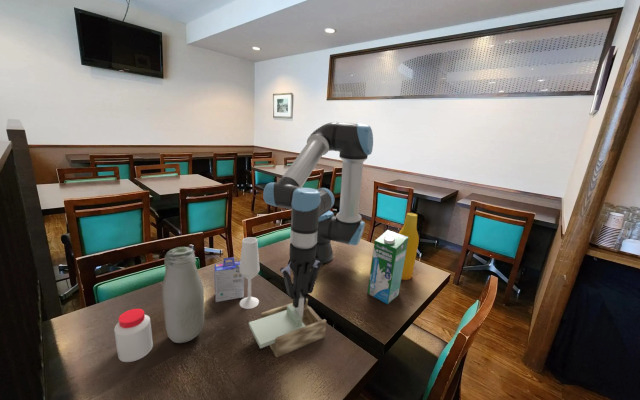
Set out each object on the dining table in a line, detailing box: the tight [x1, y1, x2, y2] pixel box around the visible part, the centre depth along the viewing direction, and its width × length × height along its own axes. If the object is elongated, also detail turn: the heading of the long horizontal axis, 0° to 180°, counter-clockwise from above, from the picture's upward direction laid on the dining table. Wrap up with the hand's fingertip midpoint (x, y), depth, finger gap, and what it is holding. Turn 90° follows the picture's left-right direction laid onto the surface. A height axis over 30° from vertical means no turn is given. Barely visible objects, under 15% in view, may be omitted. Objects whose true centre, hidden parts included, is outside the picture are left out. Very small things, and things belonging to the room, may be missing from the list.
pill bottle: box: [113, 308, 154, 363], centre depth 70 cm, size 8×8×11 cm
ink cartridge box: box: [214, 256, 245, 303], centre depth 95 cm, size 10×6×14 cm, turn 113°
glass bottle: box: [161, 246, 205, 344], centre depth 73 cm, size 10×10×28 cm
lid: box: [248, 304, 305, 349], centre depth 77 cm, size 14×9×4 cm
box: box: [260, 298, 327, 358], centre depth 81 cm, size 16×12×6 cm
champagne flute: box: [239, 236, 261, 310], centre depth 91 cm, size 7×7×24 cm
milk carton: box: [367, 229, 409, 305], centre depth 102 cm, size 9×9×25 cm
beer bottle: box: [398, 212, 420, 281], centre depth 117 cm, size 9×9×29 cm
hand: (298, 314), depth 81 cm, fingers closed
